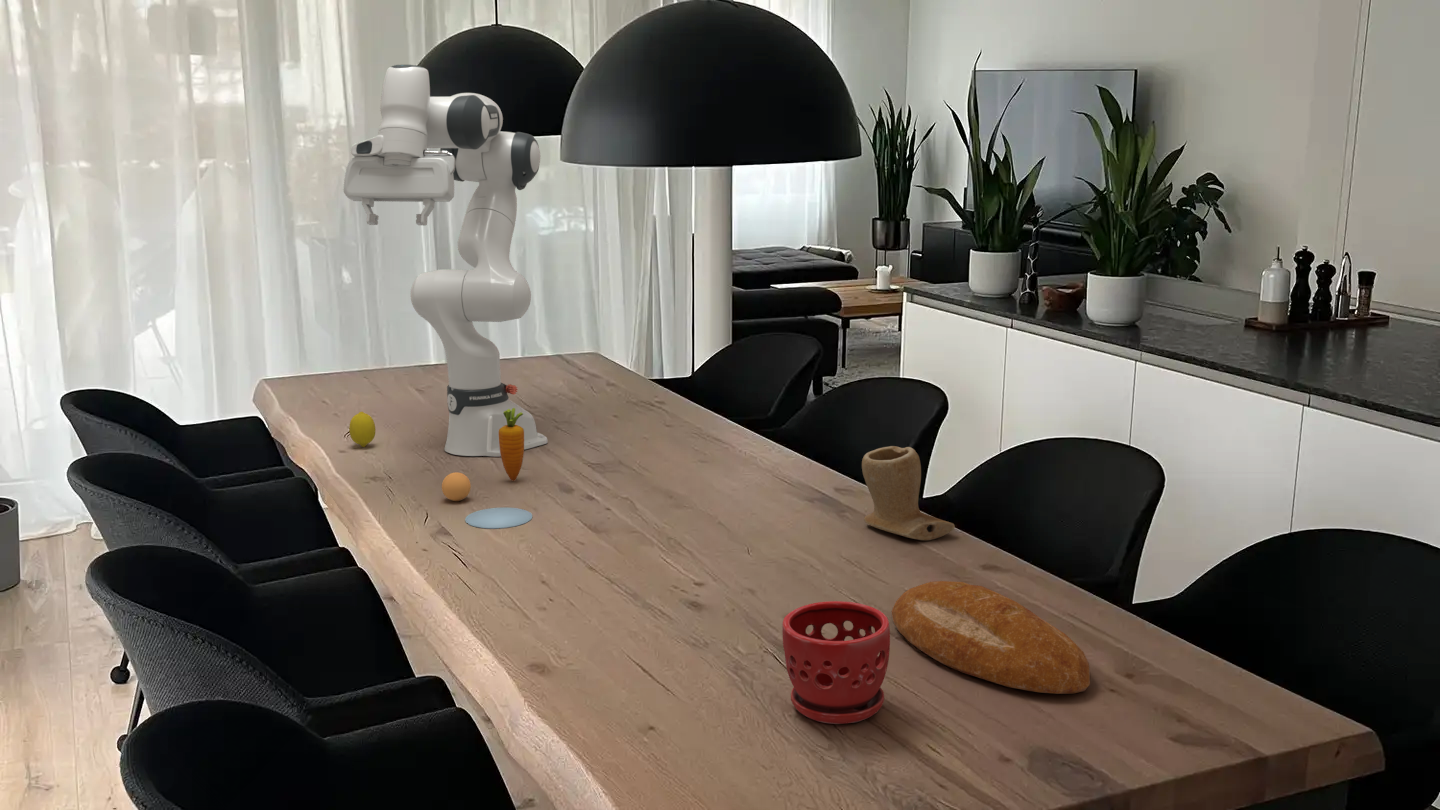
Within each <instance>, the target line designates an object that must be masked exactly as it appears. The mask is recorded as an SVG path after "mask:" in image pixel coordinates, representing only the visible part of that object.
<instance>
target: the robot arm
mask: <svg viewBox="0 0 1440 810" xmlns="http://www.w3.org/2000/svg"><path fill="white" fill-rule="evenodd" d="M430 85H431V84H430V74H429V70H428V69H427V68H425V67H423V66H420V65H416V64H415V65H414V64H394V65H392V66H389V67H388V68H387V69H386V71H385V75H384V78H383V83H382V89H381V96H380V107H379V109H380V110H379V111H380V115H381V122H380V125H379V128H378V134H377V135H375V136H374V137H371V138H368V139H366V140H361V141H360V142H359V141H358V142H356V143H353V144H352V145H351V147H350V155H352V156H353V158H351V159H350V160H348V163H347V165H346V169H345V173H344V179H343V180H344V181H343V193H344V195H345V196H346V198H348V199H349V200H351V201H353V202H361V205H362V207H363V209H364V211H365V213H366V224H367V225H369V226H378V224H379V215H377V214H376V213H374V212H373V209H372V208H373V207H374V205H375V202H391V203H392V202H399V203H402V202H408V203H409V202H411V203H412V202H415V203H422V205H424V208H423V209H422V211H421V212H420V213H417V214H416V220H415V224H416V225H418V226H428V217H429V216H430V214H431V213H432V212H433V210H434V209H435V204H436V203H438V202H439V203H450V202H451V201H453V198H454V197H455V181H456V182H467V181H468V182H473V183H474V182H475V183H478V186H477V187H476V189H475V191H474V192H473V194H472V195H471V198H470V200H469V203H468V205H467V208H466V211H465V214H464V218H463V221H462V225H461V229H460V232H459V236H458V240H457V250H458V253H459V255H460V256H461V258H462V260H464V261H465V262H466V263H467V264H468V265H469V266H471V267H473V268H471V269H454V268H453V269H447V268H446V269H445V268H441V269H434V270H430V271H425V272H421V273H419V274H418V275H417V276H416V278H414V281H413V282H412V285H411V289H410V302H411V305H412V307H413V308H414V311H416V313H417V314H418V315H419V316H420V317H421V318H423V319H424V320H425V321H426V322H427V323H429V324H430V325H431V327H432V328H433V330H435V332H436V333H437V335H438V337H439V339H440V341H441V342H442V345H443V348H444V351H445V352H444V353H445V357H446V365H447V377H448V385H447V386H446V396H447V409H448V412H449V414H448V415H449V416H448V429H447V435H446V440H445V441H446V442H445V445H444V448H443V450H444V451H445V452H446V453H449V454H451V455H456V456H463V457H482V456H483V457H495V458H496V457H501V453H500V445H499V429H500V428H501V427H503V426H505V425H507V420H506V418H505V416H504V414H503V412H504V411H507V410H508V409H510V410H511V411H512V408H515V415H514V417H516V415H517V414H518V413H520V412H522V413H523V415H522V416H520V417H519V418H518V419H517V421H516V423H515V425H518V426H520V427H522V428H523V430H524V451H525V450H528V449H532V448H536V447H538V446H539V447H540V446H543V445H545V444H548V437H547V436H545V435H544V434H542V433H540V432H537V431H538V430H537V425H536V421H535V418H534V416H533V415H532V414H531V412H529V411H528V410H526V409H525V408H523V407H522V406H520V405H518V403H515V402H514V401H512V400H511V399H510V398H509V394H510V395H516V394H517V393H518V391H519V390H518V387H517V386H516V385H513V384H511V383H510V384H505V383H503V382H502V380H501V359H500V358H501V356H500V350H499V349H498V347H497V346H496V344H495V343H494V342H493V341H491V340H490V339H488V338H487V337H484V336H483V335H481V334H480V333H479V332H478V331H477V329H476V328H475V327H474V323H473V322H479V323H480V322H485V323H487V322H488V323H489V322H490V323H502V322H507V321H512V320H519V319H521V318H522V317H523V316H524V315H525V314H526V313H527V312H528V310H529V307H530V305H531V299H532V293H531V292H532V291H531V287H530V285H529V283H528V282H527V280H526V278H525V277H524V276H523V275H522V274H521V273H519V272H518V271H517V270H515V268H514V267H513V265H512V263H511V260H510V252H511V251H510V250H511V245H512V239H513V234H514V231H515V226H516V221H517V220H516V219H517V211H518V210H517V209H518V203H517V202H518V197H517V194H516V193H517V192H516V190H517V191H522V190H524V189H525V188H526V187H527V184H529V183H531V182H532V181H533V179H534V177H536V175H537V174H538V171H539V168H540V164H541V150H540V146H539V143H538V141H537V140H536V138H535V137H534V135H532V134H529V133H526V132H521V131H516V132H512V131H501V130H502V127H503V122H504V121H503V120H504V117H503V113H502V111H501V108H500V107H499V105H498V104H497V103H496V102H495V101H493V99H491V98H490V97H487V96H485V95H482V94H480V93H475V92H460V93H456V94H453V95H451V96H431V86H430ZM428 149H439V150H428Z"/></svg>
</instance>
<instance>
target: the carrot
mask: <svg viewBox="0 0 1440 810" xmlns="http://www.w3.org/2000/svg"><path fill="white" fill-rule="evenodd" d="M503 414H504V416H505V418H506V420H507V425H505V426H503V427H501V428H500V429H499V445H500V453H501V456H500V457H501V462H502V465H503V468H504V470H505V472H506V475H507V476H508V478H509V480H510V481H511V482H515V481H516V480H517V478H518V476H519V474H520V471H521V469H522V466H523V460H524V455H525V454H524V452H525V450H524V430H523V428H522V427H520V426H518V425H515V423H516V421H517V419H518V418H519V417H520V416H522V415H523V413H522V412H520V413H518V414H517V415H516V417H514V415H515V408H512V411H511V410H510V409H508V410H507V411H504V412H503Z"/></svg>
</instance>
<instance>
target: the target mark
mask: <svg viewBox="0 0 1440 810" xmlns="http://www.w3.org/2000/svg"><path fill="white" fill-rule="evenodd" d="M532 519H533V513H532V512H531V511H529V510H526V509H523V508H522V509H521V508H517V507H502V506H501V507H493V508H490V507H489V508H483V509H481V510H477V511H474V512H471V513H469V514H468V515H467V516H466V517H465V519H464V521H465V523H466V524H467V523H468V524H467V525H469V526H470V527H475V528H478V529H487V530H489V529H490V530H491V529H493V530H497V529H499V528H500V529H509V528H514V527H518V526H523V525H525V524H526V523H528V522H530V521H531V520H532Z"/></svg>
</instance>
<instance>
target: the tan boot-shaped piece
mask: <svg viewBox="0 0 1440 810" xmlns="http://www.w3.org/2000/svg"><path fill="white" fill-rule="evenodd" d="M861 460H862V461H861V469H862V471H861V472H862V475H863V478H864V479H863V480H864V481H865V484H866V487H867V489H868V491H869V494H870V497H871V499H872V502H873V507H874V509H873V512H871V513H869V514H867V515H865V516H864V519H863V521H864V522H865V523H866V524H867V525H868V526H871V527H873V528H876V529H879V530H882V531H885V532H888V533H891V534H894V535H898V536H902V537H904V538H909V539H914V540H918V541H931V540H935V539H938V538H941V537H943V536H946V535H947V534H949V533H951V532H952V531H954V530H955V527H956V526H955V524H954V523H953V522H949V521H946V520H943V519H941V518H938V517H935V516H933V515H929V514H926V513H924V512H922V511H920V508H919V495H920V488H921V481H922V465H921V460H920V456H919V454H918V453H917V452H916V450H915V449H914V448H912V447H911V446H906V447H899V446H895V445H890V446H883V447H879V448H876V449H874V450H871V451H868V452H866V453H865V454H864V455H863V458H862V459H861Z"/></svg>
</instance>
